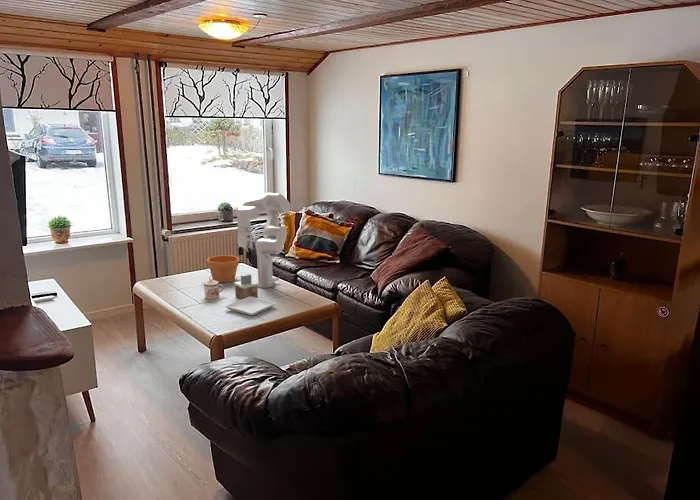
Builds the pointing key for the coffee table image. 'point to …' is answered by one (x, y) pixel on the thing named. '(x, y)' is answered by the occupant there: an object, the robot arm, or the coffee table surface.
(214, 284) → the teacup with lid
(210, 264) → the flower pot
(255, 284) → the lid
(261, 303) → the salad plate
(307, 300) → the coffee table surface
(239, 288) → the crate
